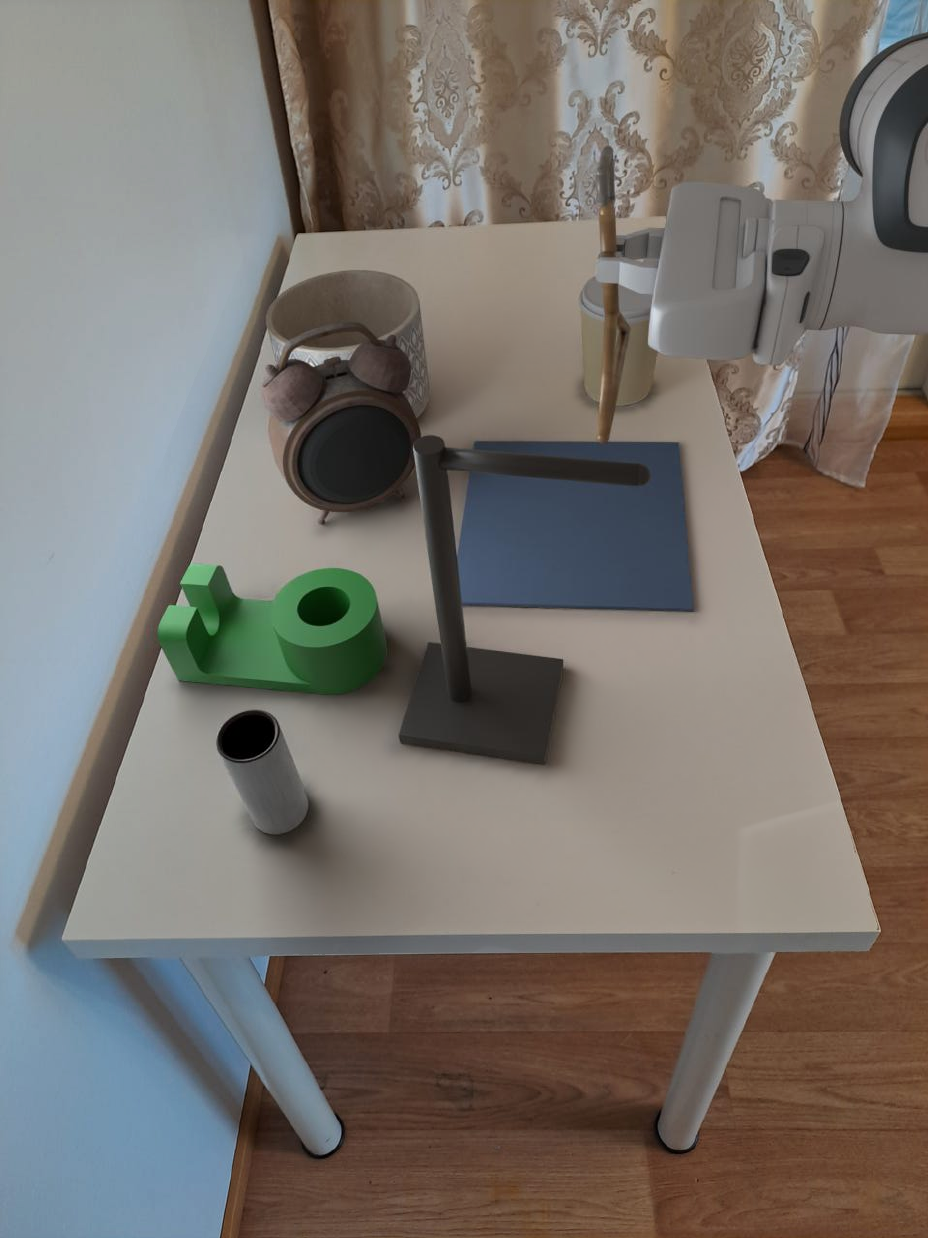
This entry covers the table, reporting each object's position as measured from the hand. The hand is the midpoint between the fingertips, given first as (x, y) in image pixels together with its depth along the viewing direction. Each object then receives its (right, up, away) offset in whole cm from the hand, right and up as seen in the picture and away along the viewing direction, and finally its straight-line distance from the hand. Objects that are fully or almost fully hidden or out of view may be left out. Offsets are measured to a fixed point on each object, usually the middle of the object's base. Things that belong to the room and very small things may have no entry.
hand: (598, 258), depth 70 cm
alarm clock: (-21, -16, +25) cm, 36 cm away
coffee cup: (+7, -1, +35) cm, 36 cm away
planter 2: (-22, -3, +36) cm, 43 cm away
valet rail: (-6, -35, +6) cm, 36 cm away
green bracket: (-26, -31, +12) cm, 42 cm away
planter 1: (-25, -43, +1) cm, 49 cm away
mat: (0, -18, +21) cm, 27 cm away
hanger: (+3, -8, +8) cm, 11 cm away
